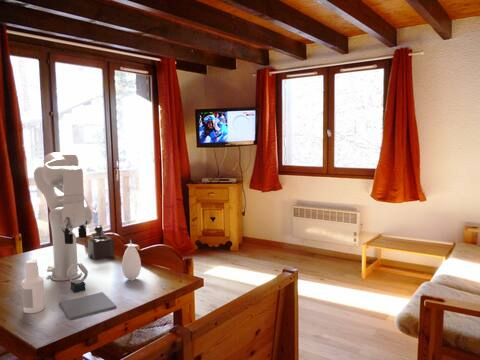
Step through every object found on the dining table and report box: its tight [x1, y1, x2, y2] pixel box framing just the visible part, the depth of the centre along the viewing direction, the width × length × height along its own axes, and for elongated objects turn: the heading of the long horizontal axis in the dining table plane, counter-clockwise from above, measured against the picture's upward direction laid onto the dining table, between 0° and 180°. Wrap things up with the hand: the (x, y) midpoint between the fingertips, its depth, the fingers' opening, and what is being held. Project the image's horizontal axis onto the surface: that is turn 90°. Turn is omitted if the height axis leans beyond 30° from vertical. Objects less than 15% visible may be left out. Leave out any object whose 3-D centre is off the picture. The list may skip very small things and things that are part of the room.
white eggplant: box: [121, 239, 142, 281], centre depth 170 cm, size 8×8×18 cm
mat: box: [58, 291, 117, 320], centre depth 144 cm, size 16×16×1 cm
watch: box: [66, 262, 89, 294], centre depth 159 cm, size 6×8×11 cm
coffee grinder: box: [87, 224, 115, 261], centre depth 203 cm, size 16×11×18 cm
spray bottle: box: [21, 259, 46, 314], centre depth 140 cm, size 7×7×18 cm
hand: (76, 240), depth 157 cm, fingers open, 9 cm apart
